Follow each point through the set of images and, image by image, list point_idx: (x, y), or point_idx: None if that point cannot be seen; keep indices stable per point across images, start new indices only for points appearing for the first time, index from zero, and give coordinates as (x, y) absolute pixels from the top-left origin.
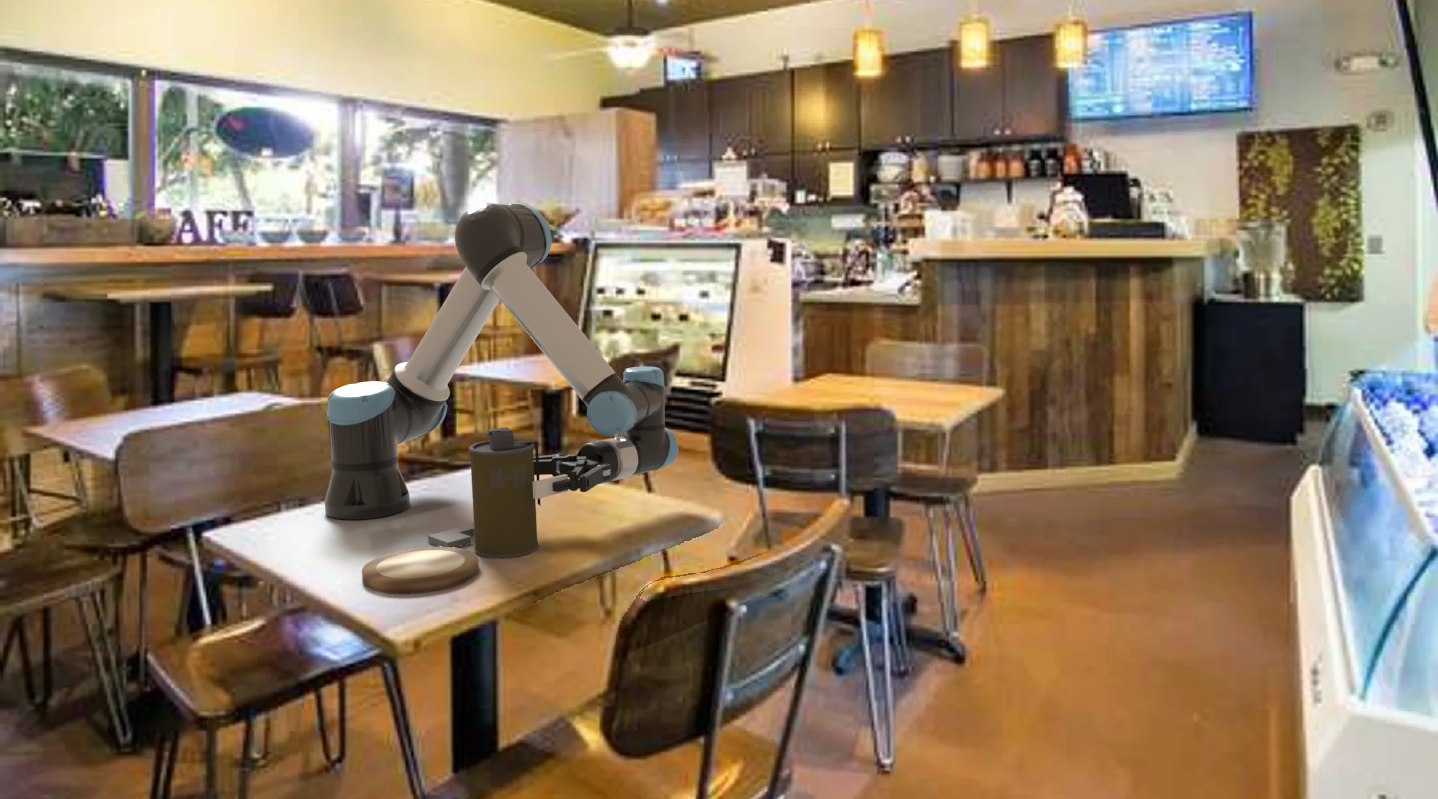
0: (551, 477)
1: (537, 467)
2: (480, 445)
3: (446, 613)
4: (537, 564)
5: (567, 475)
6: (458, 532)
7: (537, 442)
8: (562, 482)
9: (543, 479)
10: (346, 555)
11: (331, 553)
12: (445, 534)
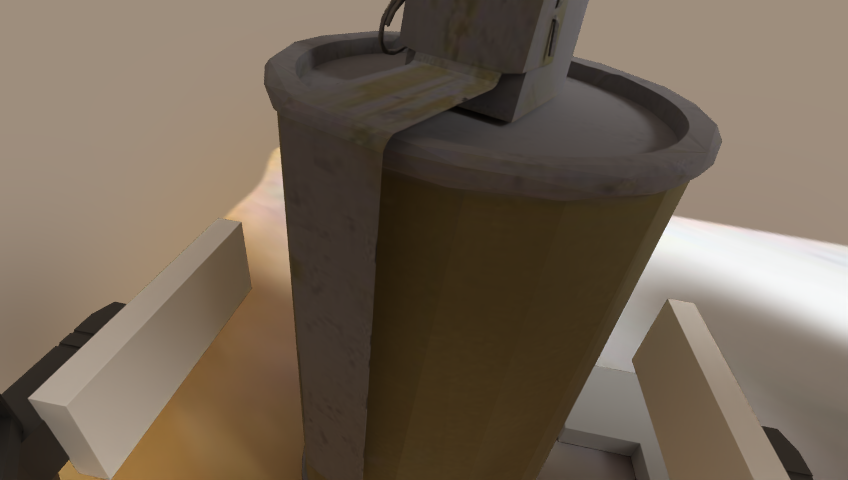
0: (159, 303)
1: (327, 328)
2: (652, 109)
3: (276, 184)
4: (229, 385)
5: (31, 400)
6: (637, 440)
7: (284, 109)
8: (72, 333)
9: (199, 262)
10: (663, 274)
11: (694, 272)
12: (641, 406)
